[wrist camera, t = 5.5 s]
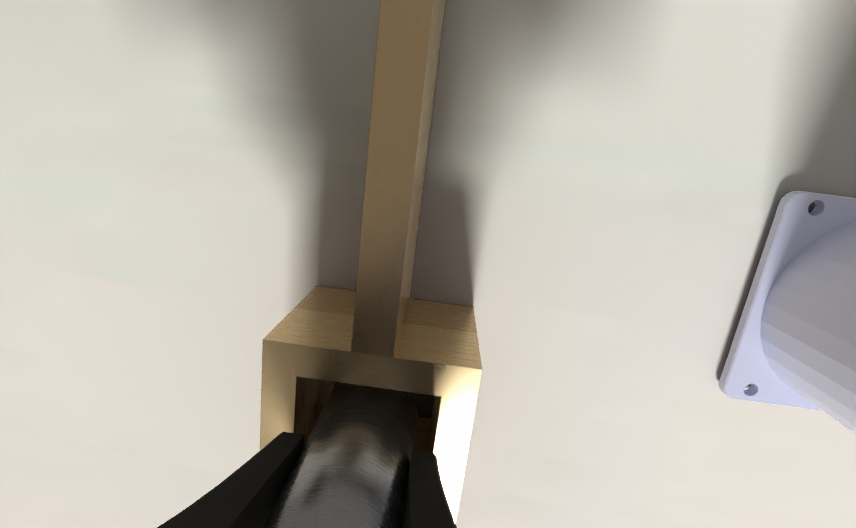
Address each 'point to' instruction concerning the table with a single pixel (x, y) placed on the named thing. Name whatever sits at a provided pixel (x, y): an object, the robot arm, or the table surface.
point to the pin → (352, 463)
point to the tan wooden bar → (385, 277)
